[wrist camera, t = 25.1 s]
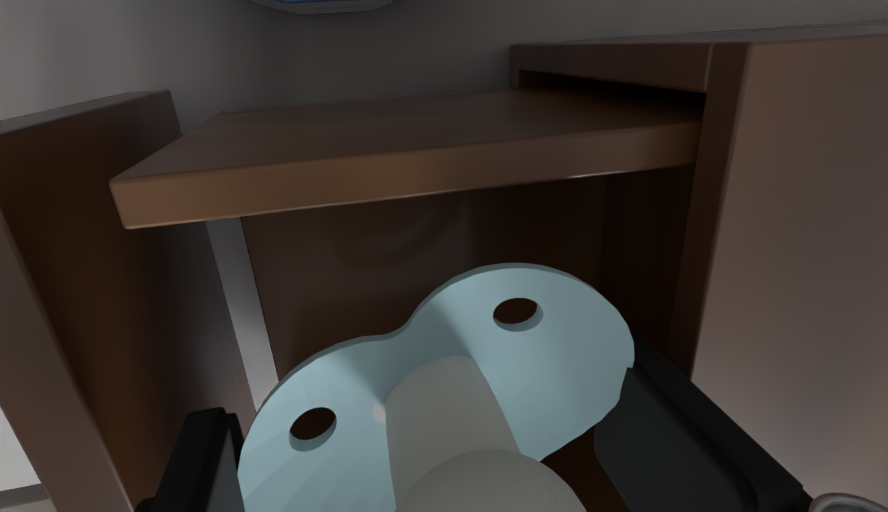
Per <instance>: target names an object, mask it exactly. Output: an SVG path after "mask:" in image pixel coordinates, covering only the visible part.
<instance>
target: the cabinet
mask: <svg viewBox="0 0 888 512" xmlns="http://www.w3.org/2000/svg"><path fill="white" fill-rule="evenodd" d="M597 81H610V82H618V83H626V84H634V85H641V86H649V87H657V88H665V89H673V90H681V91H689V92H697V93H705V94H706V93H707V94H706V100H705V107H704V113H703V120H702V126H701V133H700V139H699V146H698V152H697V158H696V165H695V171H694V178H693V184H692V191H691V197H690V204H689V210H688V217H687V223H686V230H685V236H684V243H683V249H682V256H681V262H680V269H679V275H678V282H677V288H676V295H675V301H674V308H673V314H672V321H671V327H670V333H669V340H668V346H667V353H666V358H667V359H668V360H669V361H670V362H671V363H672V364H673V365H674V366H675V367H676V368H678V369H679V370H680V371H681V372H682V373H683V374H684V375H685V376H686V377H687V378H688V379H689V380H690V381H692V382H693V383H694V384H695V385H696V386H697V387H698V388H699V389H700V390H701V391H702V392H703V393H704V394H705V395H707V396H708V397H709V398H710V399H711V400H712V401H713V402H714V403H715V404H716V405H717V406H718V407H719V408H721V409H722V410H723V411H724V412H725V413H726V414H727V415H728V416H729V417H730V418H731V419H732V420H733V421H734V422H736V423H737V424H738V425H739V426H740V427H741V428H742V429H743V430H744V431H745V432H746V433H747V434H748V435H750V436H751V437H752V438H753V439H754V440H755V441H756V442H757V443H758V444H759V445H760V446H761V447H762V448H763V449H765V450H766V451H767V452H768V453H769V454H770V455H771V456H772V457H773V458H774V459H775V460H776V461H777V462H779V463H780V464H781V465H782V466H783V467H784V468H785V469H786V470H787V471H788V472H789V473H790V474H791V475H792V476H794V477H795V478H796V479H797V480H798V481H799V482H800V483H801V484H802V485H803V489H804V490H805V491H806V492H807V493H808V494H809V495H810V496H811V497H812V498H813V499H815V498H816V497H818V496H819V495H822V494H826V493H830V492H837V493H849V494H853V495H856V496H860V497H864V498H867V499H869V500H871V501H874V502H876V503H878V504H881V505H883V506H885V507H887V508H888V20H885V21H869V22H854V23H838V24H822V25H806V26H791V27H775V28H759V29H743V30H728V31H712V32H696V33H680V34H665V35H649V36H633V37H618V38H602V39H586V40H570V41H555V42H539V43H523V44H511V46H510V88H521V87H534V86H547V85H559V84H572V83H584V82H597Z"/></svg>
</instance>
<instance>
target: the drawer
mask: <svg viewBox="0 0 888 512" xmlns="http://www.w3.org/2000/svg"><path fill="white" fill-rule="evenodd" d="M706 94H707V93H706ZM706 94H705V93H697V92H689V91H681V90H673V89H665V88H657V87H649V86H641V85H634V84H626V83H618V82H610V81H597V82H584V83H572V84H559V85H547V86H534V87H521V88H509V89H496V90H484V91H471V92H459V93H446V94H433V95H421V96H408V97H396V98H383V99H371V100H358V101H345V102H333V103H320V104H308V105H295V106H282V107H270V108H257V109H245V110H232V111H222V112H220V113H219V114H217V115H216V116H215V117H213V118H212V119H210V120H208V121H207V122H205V123H203V124H202V125H200V126H198V127H197V128H195V129H193V130H192V131H190V132H188V133H187V134H185V135H184V136H182V134H181V130H180V126H179V123H178V119H177V115H176V111H175V108H174V104H173V100H172V97H171V93H170V91H169V90H167V89H163V90H149V91H135V92H125V93H121V94H117V95H112V96H108V97H103V98H99V99H94V100H90V101H85V102H81V103H76V104H72V105H67V106H63V107H58V108H54V109H50V110H45V111H41V112H36V113H32V114H27V115H23V116H18V117H14V118H9V119H5V120H0V407H1V409H2V410H3V412H4V414H5V416H6V418H7V420H8V422H9V424H10V425H11V427H12V429H13V431H14V433H15V435H16V437H17V439H18V440H19V442H20V444H21V446H22V448H23V450H24V452H25V454H26V455H27V457H28V459H29V461H30V463H31V465H32V467H33V468H34V470H35V472H36V474H37V476H38V478H39V480H40V482H41V484H36V485H31V486H25V487H20V488H15V489H9V490H4V491H0V512H134V510H135V508H136V506H137V505H138V503H139V502H140V501H142V500H143V499H145V498H150V497H155V495H156V492H157V490H158V487H159V485H160V482H161V480H162V477H163V474H164V472H165V469H166V467H167V464H168V462H169V459H170V456H171V454H172V451H173V449H174V446H175V444H176V441H177V439H178V436H179V433H180V431H181V428H182V426H183V423H184V421H185V418H186V416H187V414H188V413H190V412H194V411H199V410H205V409H211V408H216V407H224V409H225V410H226V412H227V414H228V413H236V414H237V416H238V419H239V423H240V426H241V430H242V433H243V437H244V440H245V438H246V436H247V433H248V431H249V428H250V426H251V424H252V422H253V420H254V418H255V416H256V414H257V413H256V410H255V406H254V402H253V399H252V395H251V391H250V387H249V384H248V380H247V376H246V372H245V369H244V365H243V361H242V358H241V354H240V350H239V346H238V343H237V339H236V335H235V331H234V328H233V324H232V320H231V317H230V313H229V309H228V305H227V302H226V298H225V294H224V290H223V287H222V283H221V279H220V275H219V272H218V268H217V264H216V261H215V257H214V253H213V249H212V246H211V242H210V238H209V234H208V231H207V227H206V223H205V221H208V220H217V219H225V218H234V217H240V219H241V223H242V228H243V232H244V236H245V240H246V244H247V249H248V253H249V257H250V261H251V266H252V270H253V274H254V278H255V282H256V287H257V291H258V295H259V299H260V304H261V308H262V312H263V316H264V321H265V325H266V329H267V333H268V337H269V342H270V346H271V350H272V354H273V359H274V363H275V367H276V371H277V375H278V380H279V382H280V381H281V380H282V379H283V378H284V377H285V376H286V375H287V374H288V373H289V372H290V371H291V370H292V369H294V368H295V367H296V366H298V365H299V364H300V363H302V362H303V361H305V360H306V359H308V358H309V357H311V356H312V355H314V354H316V353H318V352H320V351H322V350H324V349H326V348H328V347H331V346H333V345H335V344H337V343H340V342H344V341H347V340H351V339H354V338H358V337H362V336H372V335H384V334H388V333H391V332H393V331H395V330H397V329H399V328H400V327H402V326H403V325H404V324H406V323H407V322H408V320H409V319H410V317H411V316H412V314H413V313H414V311H415V310H416V308H417V307H418V305H419V304H420V303H421V302H422V301H423V300H424V299H425V298H426V297H428V296H429V295H430V294H431V293H432V292H433V291H434V290H435V289H436V288H438V287H439V286H441V285H442V284H444V283H445V282H447V281H448V280H450V279H451V278H453V277H455V276H457V275H460V274H462V273H465V272H467V271H470V270H472V269H475V268H478V267H481V266H487V265H493V264H501V263H529V264H537V265H544V266H547V267H551V268H554V269H557V270H560V271H563V272H566V273H569V274H571V275H573V276H574V277H576V278H578V279H580V280H581V281H583V282H585V283H587V284H588V285H590V286H592V287H593V288H594V289H595V290H596V291H597V292H599V293H600V294H601V295H602V296H603V297H604V298H605V299H606V300H607V301H608V302H609V303H610V304H612V305H613V306H614V307H615V308H616V309H617V310H618V312H619V313H620V315H621V316H622V318H623V319H624V321H625V322H626V324H627V325H628V328H629V331H630V334H640V335H642V336H643V337H644V338H645V339H646V340H647V341H649V342H650V343H651V344H652V345H653V346H654V347H655V348H656V349H657V350H658V351H659V352H660V353H661V354H663V355H664V356H665V357H666V353H667V346H668V340H669V333H670V327H671V321H672V314H673V308H674V301H675V295H676V288H677V282H678V275H679V269H680V262H681V256H682V249H683V243H684V236H685V230H686V223H687V217H688V210H689V204H690V197H691V191H692V184H693V178H694V171H695V165H696V158H697V152H698V146H699V139H700V133H701V126H702V120H703V113H704V107H705V100H706ZM536 310H537V302H535V301H533V300H531V299H527V298H511V299H508V300H505V301H503V302H501V303H500V304H499V305H498V306H497V307H496V308H495V310H494V312H493V317H494V318H496V319H497V320H498V321H500V322H501V323H505V324H517V323H521V322H524V321H526V320H528V319H529V318H531V317H532V316H533V315H534V314H535V312H536ZM335 418H336V415H335V413H334V412H333V411H332V410H330V409H329V408H325V407H318V408H313V409H310V410H308V411H306V412H305V413H303V414H302V415H300V416H299V417H298V418H297V419H296V420H295V421H294V423H293V424H292V426H291V428H290V433H291V434H292V435H293V437H295V438H297V439H299V440H310V439H314V438H316V437H318V436H320V435H321V434H323V433H324V432H326V431H327V430H328V429H329V428H330V426H331V425H332V424H333V422H334V420H335ZM594 430H595V425H593V426H592V427H590V428H589V429H588V430H587V431H585V432H584V433H583V434H582V435H580V436H578V437H577V438H575V439H573V440H572V441H570V442H568V443H567V444H565V445H564V446H563V447H561V448H560V449H558V450H556V451H554V452H553V453H551V454H549V455H547V456H546V457H544V458H543V459H542V460H541V461H540V463H542V464H544V465H545V466H547V467H548V468H550V469H551V470H553V471H554V472H555V473H556V474H557V475H558V476H559V477H560V478H561V479H562V480H563V481H565V482H566V483H567V484H568V485H569V487H570V488H571V489H572V490H573V492H574V493H575V495H576V496H577V497H578V499H579V500H580V502H581V503H582V505H583V506H584V508H585V509H586V512H631V511H630V509H629V508H628V506H627V505H626V503H625V502H624V500H623V498H622V497H621V495H620V494H619V492H618V491H617V489H616V488H615V486H614V484H613V483H612V481H611V480H610V478H609V477H608V475H607V474H606V472H605V471H604V469H603V467H602V466H601V464H600V463H599V461H598V459H597V457H596V454H595V451H594V446H593V441H594Z"/></svg>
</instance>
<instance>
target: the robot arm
mask: <svg viewBox="0 0 888 512" xmlns="http://www.w3.org/2000/svg"><path fill="white" fill-rule="evenodd" d="M631 336H632V339H633V342H634V358H635V359H634V362H633V368H629V367H627V370H626V373H625V377H624V380H623V383H622V387H621V392H620V398H619V401H618V402H617V404H616V406H615V407H614V408H612V409H611V410H610V411H609V412H608V413H607V414H606V416H605V417H604V418H603V419H602V420H601V421H599V422H598V423H596V424H595V430H594V441H593V446H594V451H595V454H596V457H597V459H598V461H599V463H600V464H601V466H602V467H603V469H604V471H605V472H606V474H607V475H608V477H609V478H610V480H611V481H612V483H613V484H614V486H615V488H616V489H617V491H618V492H619V494H620V495H621V497H622V498H623V500H624V502H625V503H626V505H627V506H628V508H629V509H630V511H631V512H888V508H887V507H885V506H883V505H881V504H878V503H876V502H874V501H871V500H869V499H867V498H864V497H860V496H856V495H853V494H849V493H837V492H830V493H826V494H822V495H819V496H818V497H816V498H815V499H813V498H812V497H811V496H810V495H809V494H808V493H807V492H806V491H805V490H804V489H803V485H802V484H801V483H800V482H799V481H798V480H797V479H796V478H795V477H794V476H792V475H791V474H790V473H789V472H788V471H787V470H786V469H785V468H784V467H783V466H782V465H781V464H780V463H779V462H777V461H776V460H775V459H774V458H773V457H772V456H771V455H770V454H769V453H768V452H767V451H766V450H765V449H763V448H762V447H761V446H760V445H759V444H758V443H757V442H756V441H755V440H754V439H753V438H752V437H751V436H750V435H748V434H747V433H746V432H745V431H744V430H743V429H742V428H741V427H740V426H739V425H738V424H737V423H736V422H734V421H733V420H732V419H731V418H730V417H729V416H728V415H727V414H726V413H725V412H724V411H723V410H722V409H721V408H719V407H718V406H717V405H716V404H715V403H714V402H713V401H712V400H711V399H710V398H709V397H708V396H707V395H705V394H704V393H703V392H702V391H701V390H700V389H699V388H698V387H697V386H696V385H695V384H694V383H693V382H692V381H690V380H689V379H688V378H687V377H686V376H685V375H684V374H683V373H682V372H681V371H680V370H679V369H678V368H676V367H675V366H674V365H673V364H672V363H671V362H670V361H669V360H668V359H667V358H666V357H665V356H664V355H663V354H661V353H660V352H659V351H658V350H657V349H656V348H655V347H654V346H653V345H652V344H651V343H650V342H649V341H647V340H646V339H645V338H644V337H643V336H642V335H640V334H631ZM244 441H245V440H244V437H243V433H242V430H241V426H240V423H239V419H238V416H237V414H236V413H228V414H227V412H226V410H225V409H224V407H216V408H211V409H205V410H199V411H194V412H190V413H188V414H187V416H186V418H185V421H184V423H183V426H182V428H181V431H180V433H179V436H178V439H177V441H176V444H175V446H174V449H173V451H172V454H171V456H170V459H169V462H168V464H167V467H166V469H165V472H164V474H163V477H162V480H161V482H160V485H159V487H158V490H157V492H156V495H155V497H150V498H145V499H143V500H142V501H140V502H139V503H138V505H137V506H136V508H135V510H134V512H245V508H244V502H243V497H242V493H241V488H240V484H239V479H238V475H237V473H238V467H239V462H240V456H241V451H242V447H243V444H244Z"/></svg>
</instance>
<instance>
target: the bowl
mask: <svg viewBox="0 0 888 512" xmlns="http://www.w3.org/2000/svg"><path fill="white" fill-rule="evenodd" d="M249 1H252V2H256V3H259V4H262V5H266V6H269V7H273V8H276V9H280V10H283V11H287V12H290V13H294V14H295V13H297V14H312V13H340V12H353V11H370V10H374V9H376V8H378V7H381V6H383V5H386V4H388V3H390V2H393V1H395V0H249Z"/></svg>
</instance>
